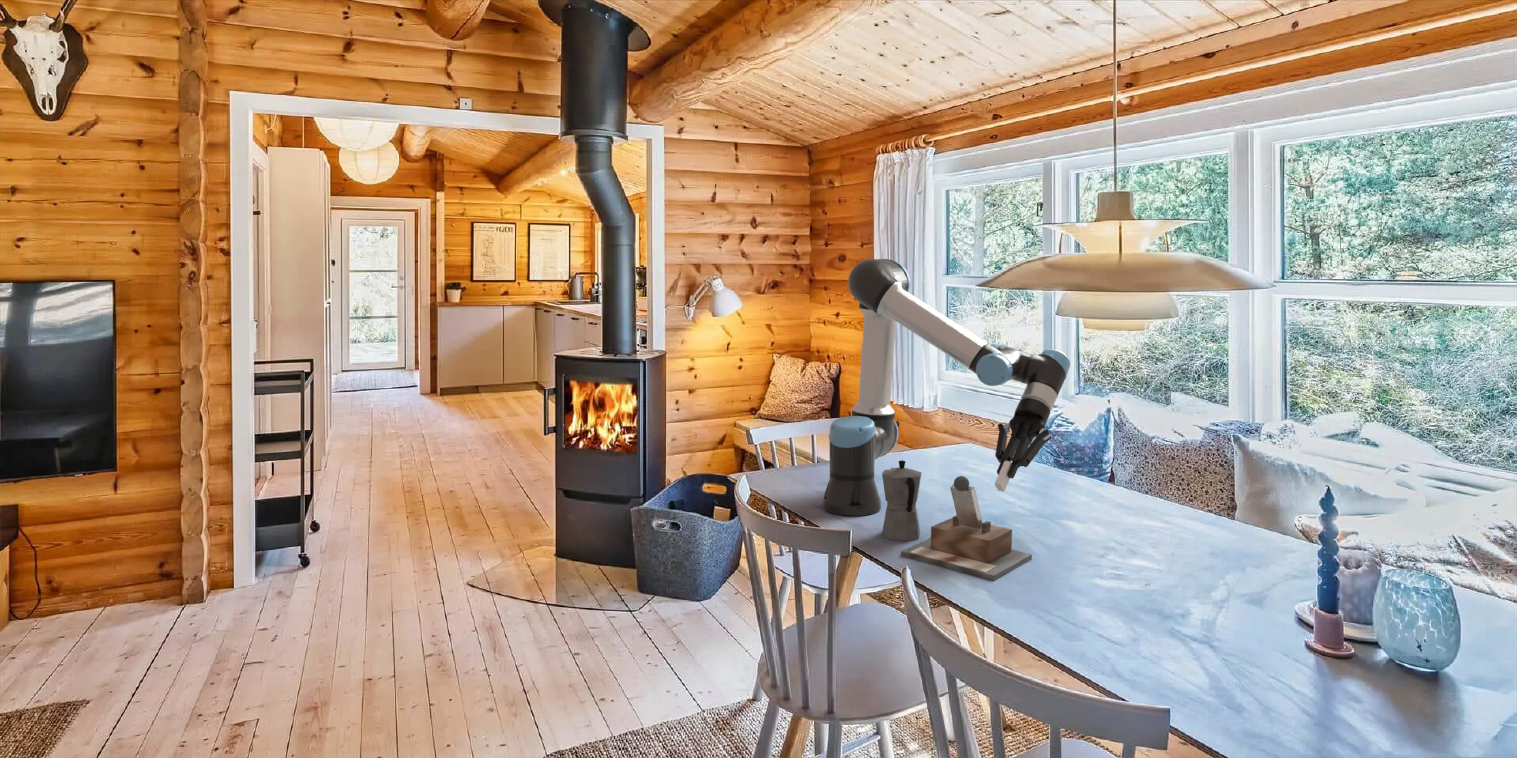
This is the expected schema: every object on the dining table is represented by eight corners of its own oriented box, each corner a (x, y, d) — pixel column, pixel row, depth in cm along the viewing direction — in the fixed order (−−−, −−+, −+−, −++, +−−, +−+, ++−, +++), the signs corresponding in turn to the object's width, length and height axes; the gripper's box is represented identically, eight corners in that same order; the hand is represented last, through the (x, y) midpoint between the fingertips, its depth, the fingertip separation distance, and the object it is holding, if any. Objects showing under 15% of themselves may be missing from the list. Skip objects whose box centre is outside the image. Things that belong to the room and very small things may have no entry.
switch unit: (901, 555, 181) (901, 520, 180) (942, 536, 193) (942, 503, 192) (993, 580, 166) (994, 542, 165) (1031, 558, 178) (1033, 522, 177)
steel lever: (957, 526, 181) (946, 479, 176) (964, 518, 183) (953, 471, 178) (977, 531, 177) (967, 483, 172) (984, 522, 179) (974, 475, 174)
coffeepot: (874, 527, 201) (875, 454, 198) (912, 525, 202) (913, 453, 199) (891, 548, 186) (892, 470, 183) (932, 546, 187) (933, 468, 184)
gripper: (1066, 418, 196) (1031, 502, 186) (1014, 412, 205) (979, 491, 195) (1057, 399, 191) (1021, 483, 182) (1005, 393, 200) (968, 474, 191)
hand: (999, 487), depth 188 cm, fingers closed
